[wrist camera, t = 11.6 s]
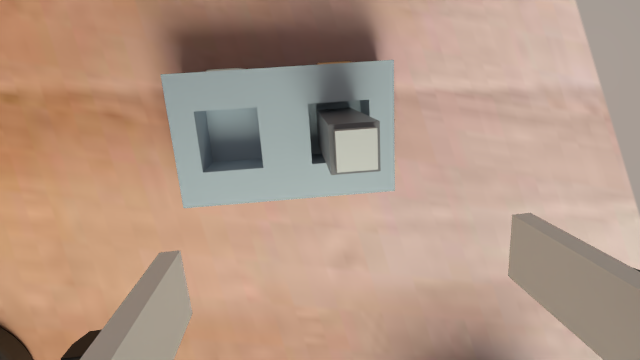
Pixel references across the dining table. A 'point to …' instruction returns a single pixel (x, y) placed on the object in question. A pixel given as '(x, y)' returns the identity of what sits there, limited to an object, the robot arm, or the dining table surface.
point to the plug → (348, 140)
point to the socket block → (272, 130)
